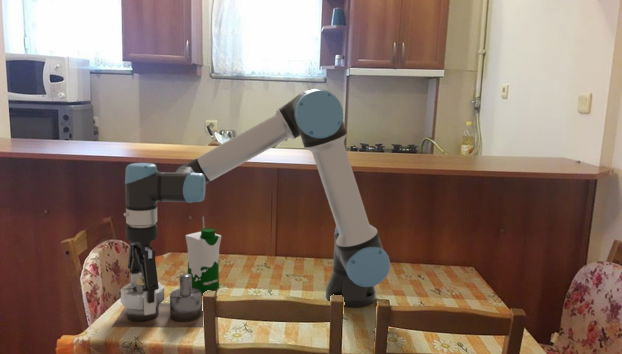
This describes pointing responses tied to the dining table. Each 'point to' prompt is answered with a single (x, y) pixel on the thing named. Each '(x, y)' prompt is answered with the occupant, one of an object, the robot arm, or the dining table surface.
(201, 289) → the milk carton
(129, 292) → the steel ring
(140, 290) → the hub post
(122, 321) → the board
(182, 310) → the stand post
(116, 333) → the dining table surface
